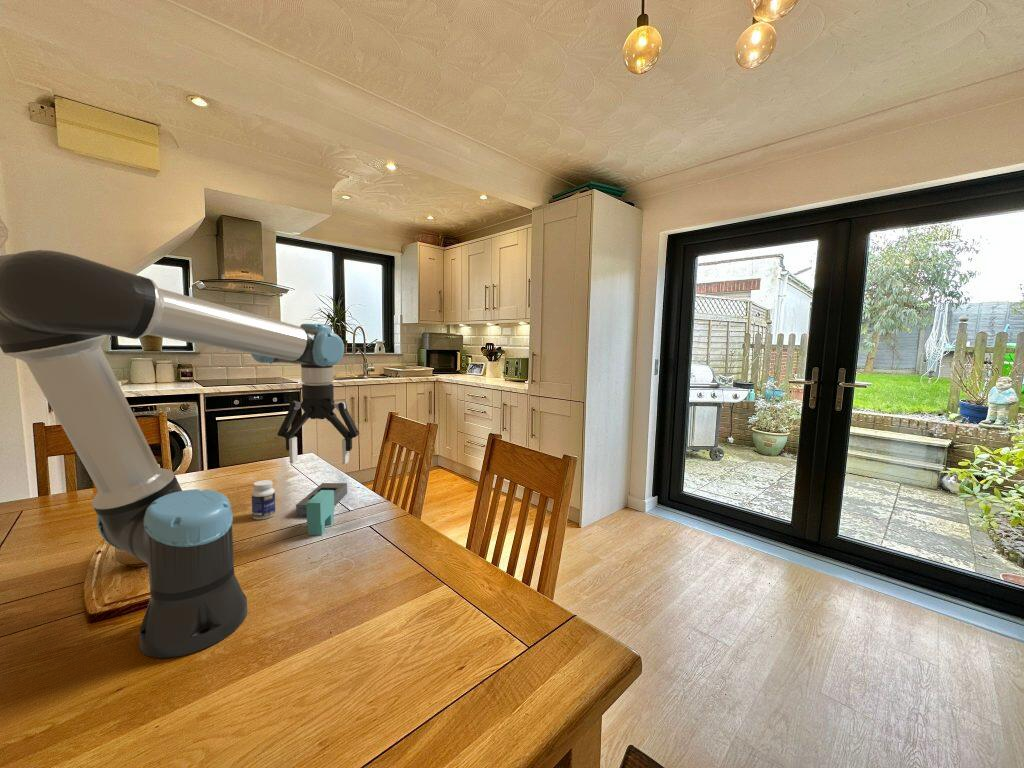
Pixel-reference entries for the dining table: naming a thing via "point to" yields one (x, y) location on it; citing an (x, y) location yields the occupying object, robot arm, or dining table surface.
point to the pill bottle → (263, 500)
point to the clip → (320, 512)
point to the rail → (338, 488)
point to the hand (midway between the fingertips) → (319, 462)
